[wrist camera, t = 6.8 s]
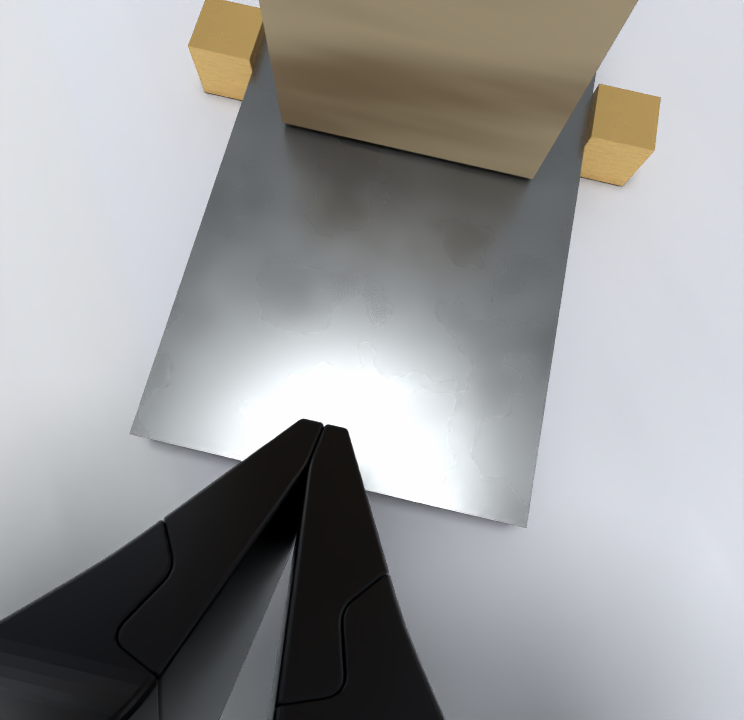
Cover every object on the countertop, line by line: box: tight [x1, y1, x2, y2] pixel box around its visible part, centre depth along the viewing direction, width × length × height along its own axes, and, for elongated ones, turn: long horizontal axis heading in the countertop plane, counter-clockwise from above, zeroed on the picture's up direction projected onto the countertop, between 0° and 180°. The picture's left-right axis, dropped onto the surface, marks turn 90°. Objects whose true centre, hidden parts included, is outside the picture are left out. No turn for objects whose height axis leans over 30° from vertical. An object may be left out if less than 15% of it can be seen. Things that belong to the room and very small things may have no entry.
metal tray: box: [130, 0, 661, 528], centre depth 17 cm, size 22×15×4 cm
